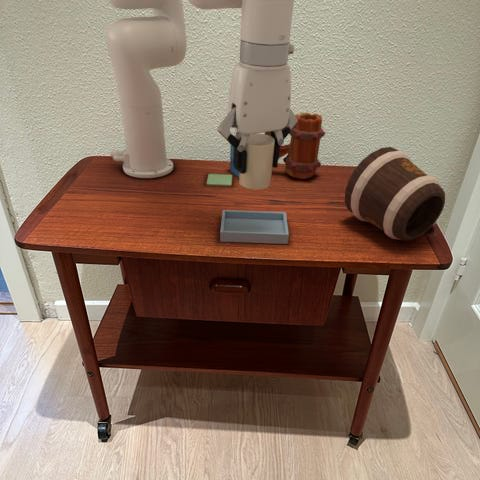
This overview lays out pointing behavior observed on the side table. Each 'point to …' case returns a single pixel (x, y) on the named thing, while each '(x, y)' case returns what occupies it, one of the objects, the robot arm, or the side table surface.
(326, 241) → the side table surface
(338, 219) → the side table surface
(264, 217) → the tray
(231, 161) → the perfume bottle
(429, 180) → the brown wooden barrel
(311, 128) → the mug
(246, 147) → the cream upright cylinder
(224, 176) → the mat
